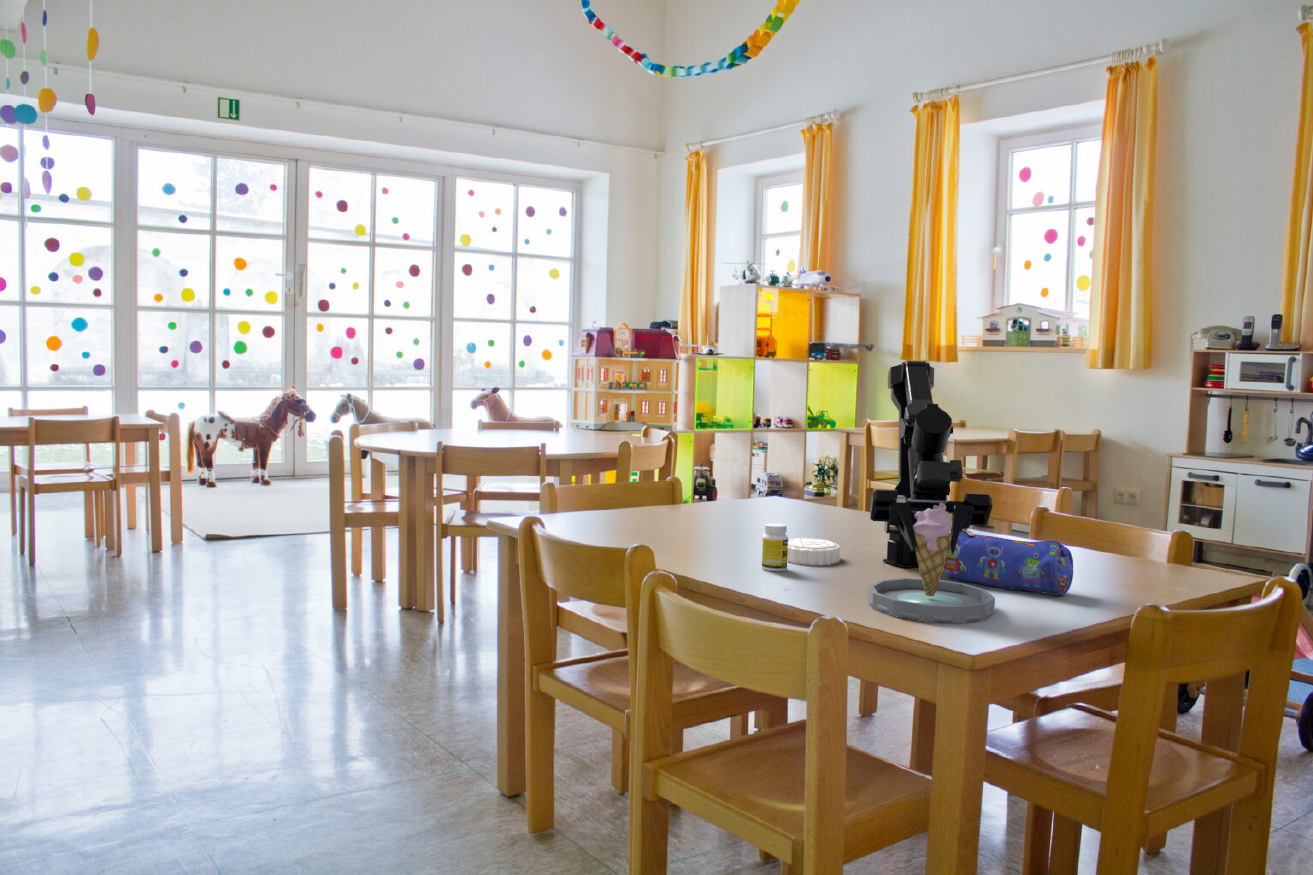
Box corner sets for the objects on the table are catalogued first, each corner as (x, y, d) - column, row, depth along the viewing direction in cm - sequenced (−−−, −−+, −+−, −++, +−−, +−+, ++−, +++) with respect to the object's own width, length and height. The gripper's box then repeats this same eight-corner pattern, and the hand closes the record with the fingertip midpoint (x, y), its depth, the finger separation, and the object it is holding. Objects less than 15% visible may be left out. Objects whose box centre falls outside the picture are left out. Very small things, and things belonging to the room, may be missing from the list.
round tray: (934, 589, 167) (934, 574, 166) (1019, 615, 150) (1020, 600, 149) (844, 598, 158) (845, 583, 158) (924, 628, 141) (924, 611, 141)
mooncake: (844, 567, 184) (845, 548, 184) (781, 565, 185) (781, 547, 185) (835, 554, 196) (835, 537, 196) (775, 553, 197) (776, 535, 197)
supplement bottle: (786, 572, 177) (787, 527, 177) (760, 571, 178) (761, 526, 177) (787, 567, 182) (789, 523, 181) (762, 565, 183) (764, 521, 182)
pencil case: (934, 580, 174) (936, 528, 173) (953, 573, 181) (956, 522, 180) (1060, 602, 160) (1064, 545, 159) (1076, 593, 167) (1079, 538, 166)
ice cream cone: (955, 601, 151) (959, 506, 149) (915, 600, 151) (919, 505, 149) (943, 591, 157) (947, 499, 156) (905, 590, 157) (908, 499, 156)
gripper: (874, 439, 157) (877, 518, 147) (993, 443, 155) (1004, 523, 145) (868, 481, 166) (871, 558, 156) (981, 485, 163) (991, 564, 153)
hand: (933, 550), depth 152 cm, fingers closed on ice cream cone, 6 cm apart
